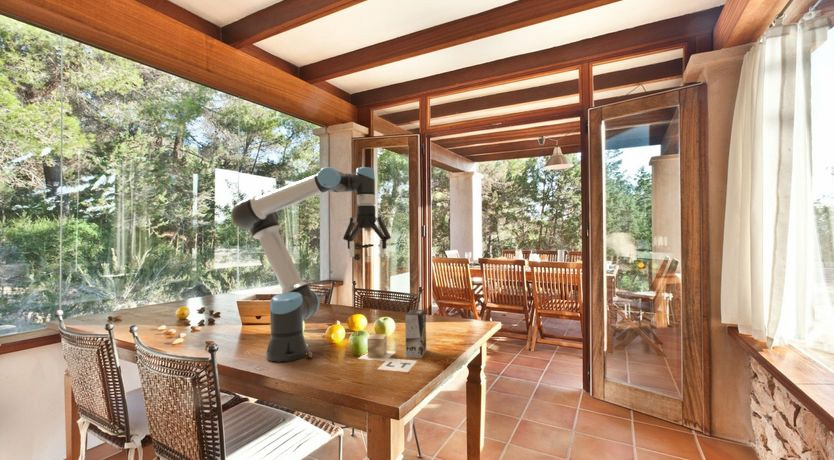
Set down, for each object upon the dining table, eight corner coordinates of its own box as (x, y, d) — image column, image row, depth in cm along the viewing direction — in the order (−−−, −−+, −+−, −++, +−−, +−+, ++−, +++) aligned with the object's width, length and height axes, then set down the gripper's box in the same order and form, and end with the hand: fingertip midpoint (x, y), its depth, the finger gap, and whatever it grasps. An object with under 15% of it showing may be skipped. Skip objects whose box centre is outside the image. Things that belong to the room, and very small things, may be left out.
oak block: (367, 357, 138) (367, 338, 138) (371, 352, 144) (371, 334, 144) (383, 357, 137) (383, 338, 137) (386, 352, 143) (386, 334, 143)
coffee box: (422, 358, 136) (421, 314, 136) (405, 357, 138) (404, 314, 138) (427, 350, 145) (426, 309, 145) (411, 349, 147) (410, 309, 147)
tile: (377, 369, 126) (377, 368, 126) (388, 358, 137) (388, 358, 137) (407, 372, 123) (407, 371, 123) (417, 361, 134) (417, 360, 134)
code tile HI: (357, 359, 137) (357, 358, 137) (369, 349, 147) (369, 349, 147) (385, 361, 134) (385, 360, 134) (396, 351, 144) (395, 351, 144)
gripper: (334, 206, 153) (335, 257, 153) (391, 203, 146) (392, 257, 145) (343, 207, 160) (344, 256, 160) (397, 204, 153) (398, 256, 153)
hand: (367, 257), depth 153 cm, fingers open, 13 cm apart
